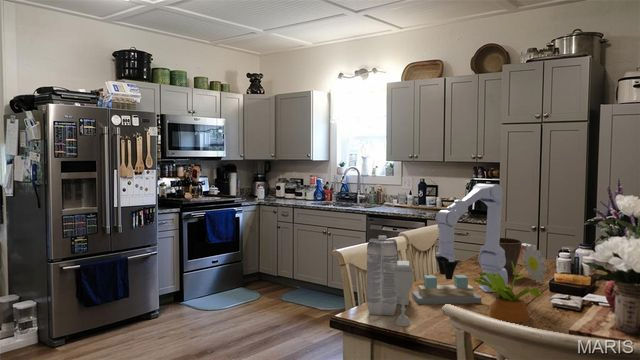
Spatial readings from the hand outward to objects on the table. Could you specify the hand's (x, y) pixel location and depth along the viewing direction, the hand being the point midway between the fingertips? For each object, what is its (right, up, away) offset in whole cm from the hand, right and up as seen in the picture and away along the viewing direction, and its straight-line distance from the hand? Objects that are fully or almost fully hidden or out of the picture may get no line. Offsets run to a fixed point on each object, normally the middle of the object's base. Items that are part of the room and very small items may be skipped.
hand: (446, 276), depth 191 cm
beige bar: (0, -7, 0) cm, 7 cm away
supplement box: (-19, -9, -2) cm, 21 cm away
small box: (+56, -6, +61) cm, 83 cm away
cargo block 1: (-6, -4, 0) cm, 7 cm away
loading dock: (0, -9, 0) cm, 9 cm away
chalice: (-21, -10, -27) cm, 36 cm away
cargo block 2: (+6, -4, 0) cm, 7 cm away
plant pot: (+37, -7, +41) cm, 56 cm away
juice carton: (-26, -10, -15) cm, 32 cm away
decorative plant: (+16, -10, -18) cm, 26 cm away
